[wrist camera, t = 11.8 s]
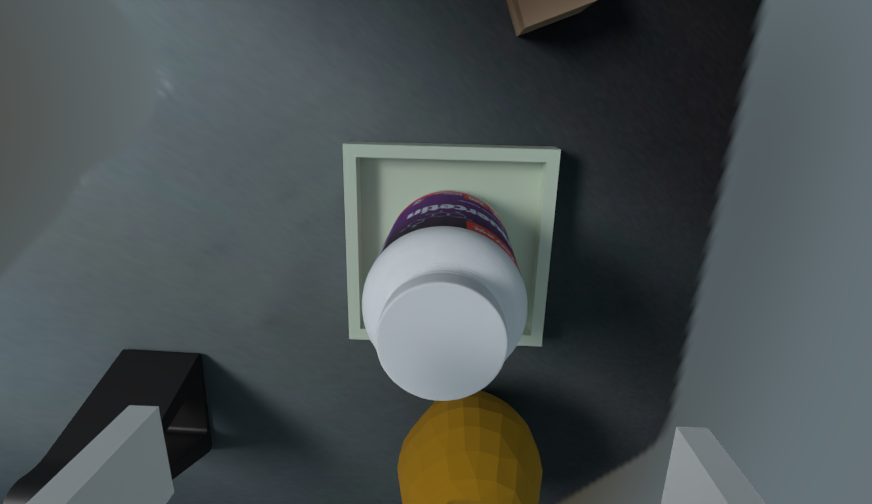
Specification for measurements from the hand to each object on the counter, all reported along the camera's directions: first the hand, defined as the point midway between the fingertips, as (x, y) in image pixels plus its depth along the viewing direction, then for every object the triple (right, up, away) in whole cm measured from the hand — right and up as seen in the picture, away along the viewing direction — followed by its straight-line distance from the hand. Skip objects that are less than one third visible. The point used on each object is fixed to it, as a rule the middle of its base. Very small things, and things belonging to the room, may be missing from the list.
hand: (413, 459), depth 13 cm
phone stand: (-21, -7, +27) cm, 35 cm away
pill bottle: (+1, +6, +21) cm, 22 cm away
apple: (+3, -7, +26) cm, 27 cm away
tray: (+1, +6, +22) cm, 23 cm away
